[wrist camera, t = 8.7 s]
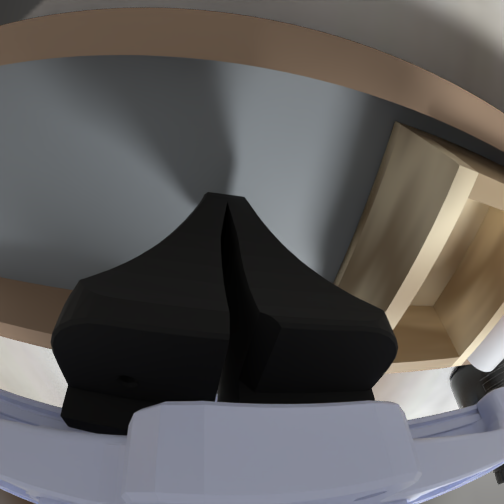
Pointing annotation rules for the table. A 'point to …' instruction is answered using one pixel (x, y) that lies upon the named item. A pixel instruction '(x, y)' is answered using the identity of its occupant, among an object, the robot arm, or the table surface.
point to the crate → (431, 249)
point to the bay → (196, 141)
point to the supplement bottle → (477, 391)
